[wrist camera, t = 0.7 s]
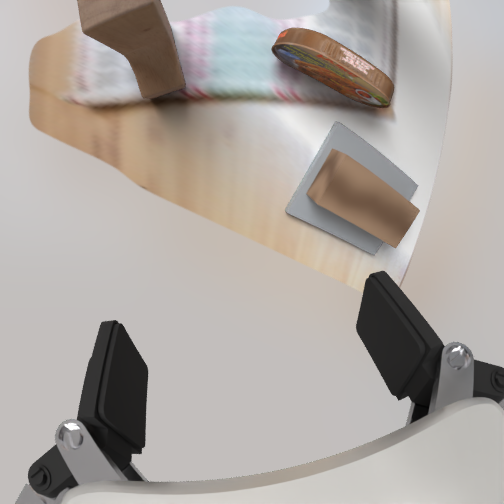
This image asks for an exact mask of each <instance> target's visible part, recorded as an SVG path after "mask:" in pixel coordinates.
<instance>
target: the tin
mask: <svg viewBox="0 0 504 504" xmlns="http://www.w3.org/2000/svg"><path fill="white" fill-rule="evenodd" d="M272 52H273V54H274V55H275V56H276V57H277V58H278V59H279V60H281V61H282V62H283V63H285V64H287V65H289V66H290V67H292V68H294V69H296V70H298V71H301V72H302V73H304V74H307V75H309V76H310V77H312V78H314V79H316V80H318V81H320V82H322V83H324V84H325V85H327V86H329V87H331V88H332V89H334V90H336V91H338V92H339V93H341V94H343V95H345V96H347V97H349V98H351V99H353V100H355V101H358V102H360V103H363V104H366V105H369V106H373V107H377V108H387V107H389V106H390V101H391V98H392V95H393V92H394V85H393V83H392V81H391V80H390V78H389V77H388V76H387V75H386V74H385V73H383V72H382V71H381V70H379V69H378V68H376V67H375V66H374V65H372V64H371V63H370V62H368V61H367V60H365V59H364V58H362V57H361V56H359V55H358V54H356V53H355V52H353V51H352V50H350V49H348V48H347V47H345V46H343V45H342V44H340V43H338V42H337V41H335V40H333V39H332V38H330V37H328V36H326V35H324V34H321V33H319V32H316V31H313V30H309V29H304V28H289V29H287V30H284V31H282V32H281V33H280V34H279V36H278V38H277V40H276V42H275V45H273V46H272Z"/></svg>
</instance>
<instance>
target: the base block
mask: <svg viewBox="0 0 504 504" xmlns="http://www.w3.org/2000/svg"><path fill="white" fill-rule="evenodd" d="M306 194H307V195H308V196H309V197H310V198H311V199H313V200H314V201H315V202H316V203H317V204H318V205H320V206H322V207H324V208H325V209H327V210H329V211H331V212H333V213H335V214H337V215H338V216H340V217H342V218H344V219H346V220H348V221H349V222H351V223H353V224H355V225H356V226H358V227H360V228H362V229H364V230H365V231H367V232H369V233H370V234H372V235H374V236H376V237H377V238H379V239H381V240H382V241H384V242H386V243H387V244H389V245H391V246H392V247H394V248H396V247H397V246H398V244H399V243H400V241H401V240H402V238H403V237H404V235H405V234H406V232H407V231H408V229H409V228H410V226H411V224H412V223H413V221H414V220H415V218H416V216H417V215H418V213H419V211H420V210H419V209H418V208H416V207H415V206H414V205H413V204H412V203H411V202H409V201H408V200H407V199H406V198H404V197H403V196H402V195H401V194H400V193H398V192H397V191H396V190H395V189H393V188H392V187H391V186H389V185H388V184H387V183H386V182H384V181H383V180H382V179H380V178H379V177H378V176H376V175H375V174H374V173H372V172H371V171H370V170H368V169H367V168H365V167H364V166H363V165H361V164H360V163H358V162H357V161H356V160H354V159H353V158H351V157H350V156H348V155H347V154H344V153H342V152H340V151H338V150H335V149H333V148H332V150H331V151H330V153H329V155H328V157H327V158H326V160H325V162H324V164H323V165H322V167H321V169H320V171H319V172H318V174H317V176H316V177H315V179H314V181H313V183H312V184H311V186H310V188H309V189H308V191H307V193H306Z"/></svg>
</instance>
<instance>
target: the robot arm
mask: <svg viewBox="0 0 504 504" xmlns="http://www.w3.org/2000/svg"><path fill="white" fill-rule="evenodd" d="M356 329H357V333H358V335H359V336H360V338H361V340H362V342H363V343H364V345H365V347H366V348H367V350H368V352H369V354H370V356H371V357H372V359H373V361H374V363H375V364H376V366H377V368H378V370H379V372H380V373H381V376H382V377H383V379H384V381H385V383H386V385H387V387H388V389H389V390H390V392H391V394H392V395H394V396H396V397H397V399H398V400H401V399H403V398H405V397H407V396H409V397H410V399H411V401H412V403H411V407H410V411H409V415H408V419H407V422H406V426H405V427H403V428H401V429H399V430H397V431H395V432H392V433H390V434H388V435H386V436H384V437H381V438H379V439H376V440H374V441H372V442H369V443H367V444H364V445H362V446H359V447H356V448H353V449H351V450H348V451H345V452H342V453H339V454H336V455H333V456H330V457H327V458H324V459H320V460H317V461H313V462H310V463H306V464H302V465H298V466H295V467H291V468H286V469H281V470H277V471H272V472H267V473H261V474H256V475H249V476H242V477H236V478H227V479H217V480H205V481H186V482H149V481H148V480H147V479H146V478H145V477H144V476H143V475H142V473H141V472H140V471H139V470H138V469H137V468H136V467H135V465H134V464H133V463H132V462H131V458H132V456H131V455H132V454H141V453H142V448H144V447H145V429H146V401H147V384H148V383H147V382H148V368H147V365H146V363H145V362H144V360H143V359H142V357H141V355H140V354H139V352H138V350H137V349H136V347H135V345H134V344H133V342H132V340H131V339H130V337H129V335H128V333H127V332H126V330H125V328H124V326H123V325H122V324H119V323H118V321H116V320H113V321H105V322H102V323H101V325H100V328H99V332H98V335H97V339H96V343H95V346H94V350H93V354H92V357H91V358H90V360H89V363H88V367H87V372H86V376H85V380H84V385H83V390H82V394H81V400H80V405H79V411H78V417H77V420H75V419H70V420H66V421H64V422H62V423H61V424H60V425H59V427H58V429H57V430H56V434H55V440H56V445H55V446H54V447H52V448H51V449H50V450H49V451H48V452H47V453H45V454H44V455H43V456H42V457H40V458H39V459H38V460H37V461H36V462H35V463H33V464H32V466H31V467H30V469H29V472H28V479H29V483H30V484H29V485H28V484H26V485H25V486H24V488H23V490H22V492H21V494H20V495H19V497H18V499H17V501H16V503H15V504H504V368H502V367H499V366H496V365H492V364H488V363H485V362H481V361H477V360H474V358H473V354H472V352H471V350H470V349H469V348H468V347H467V346H465V345H464V344H462V343H459V342H452V343H449V344H447V345H446V346H444V345H443V343H442V341H441V340H440V338H439V337H438V336H437V334H436V333H435V332H434V330H433V329H432V328H431V327H430V325H429V324H428V323H427V321H426V320H425V319H424V317H423V316H422V315H421V314H420V312H419V311H418V310H417V309H416V307H415V306H414V305H413V304H412V302H411V301H410V300H409V299H408V298H407V296H406V295H405V294H404V293H403V292H402V290H401V289H400V288H399V287H398V286H397V284H396V283H395V282H394V281H393V280H392V279H391V277H390V276H389V275H388V274H387V273H386V272H385V271H380V272H376V273H372V274H370V275H369V278H367V279H366V282H365V287H364V292H363V297H362V302H361V307H360V311H359V316H358V320H357V324H356Z"/></svg>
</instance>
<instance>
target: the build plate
mask: <svg viewBox="0 0 504 504" xmlns="http://www.w3.org/2000/svg"><path fill="white" fill-rule="evenodd" d="M332 148H333V149H335V150H338V151H340V152H342V153H344V154H347V155H348V156H350V157H351V158H353V159H354V160H356V161H357V162H358V163H360V164H361V165H363V166H364V167H365V168H367V169H368V170H370V171H371V172H372V173H374V174H375V175H376V176H378V177H379V178H380V179H382V180H383V181H384V182H386V183H387V184H388V185H389V186H391V187H392V188H393V189H395V190H396V191H397V192H398V193H400V194H401V195H402V196H403V197H404V198H406V199H407V200H408V201H410V199H411V197H412V196H413V194H414V192H415V190H416V189H417V187H418V185H417V184H416V183H415V182H414V181H413V180H412V179H411V178H409V177H408V176H407V175H406V174H405V173H404V172H403V171H401V170H400V169H399V168H398V167H397V166H396V165H394V164H393V163H392V162H391V161H390V160H389V159H387V158H386V157H385V156H384V155H382V154H381V153H380V152H379V151H377V150H376V149H375V148H374V147H372V146H371V145H370V144H368V143H367V142H366V141H365V140H363V139H362V138H361V137H359V136H358V135H357V134H355V133H354V132H352V131H351V130H350V129H348V128H347V127H345V126H344V125H343V124H341V123H340V122H335V123H334V125H333V127H332V129H331V131H330V132H329V134H328V136H327V138H326V139H325V141H324V143H323V145H322V146H321V148H320V150H319V152H318V153H317V155H316V157H315V159H314V160H313V162H312V164H311V165H310V167H309V169H308V171H307V172H306V174H305V176H304V178H303V179H302V181H301V183H300V185H299V186H298V188H297V190H296V192H295V193H294V195H293V197H292V198H291V200H290V202H289V204H288V205H287V207H286V209H285V211H286V212H287V213H288V214H290V215H293V216H295V217H297V218H299V219H301V220H303V221H305V222H308V223H310V224H312V225H314V226H316V227H318V228H320V229H322V230H324V231H326V232H328V233H330V234H333V235H335V236H337V237H339V238H341V239H343V240H345V241H347V242H349V243H351V244H353V245H355V246H357V247H359V248H361V249H363V250H365V251H366V252H368V253H370V254H372V255H375V254H376V252H377V251H378V249H379V248H380V246H381V245H382V243H383V242H384V241H382V240H381V239H379V238H377V237H376V236H374V235H372V234H370V233H369V232H367V231H365V230H364V229H362V228H360V227H358V226H356V225H355V224H353V223H351V222H349V221H348V220H346V219H344V218H342V217H340V216H338V215H337V214H335V213H333V212H331V211H329V210H327V209H325V208H324V207H322V206H320V205H318V204H317V203H316V202H315V201H314V200H313V199H311V198H310V197H309V196H308V195H307V194H306V193H307V191H308V189H309V188H310V186H311V184H312V183H313V181H314V179H315V177H316V176H317V174H318V172H319V171H320V169H321V167H322V165H323V164H324V162H325V160H326V158H327V157H328V155H329V153H330V151H331V150H332Z"/></svg>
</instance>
